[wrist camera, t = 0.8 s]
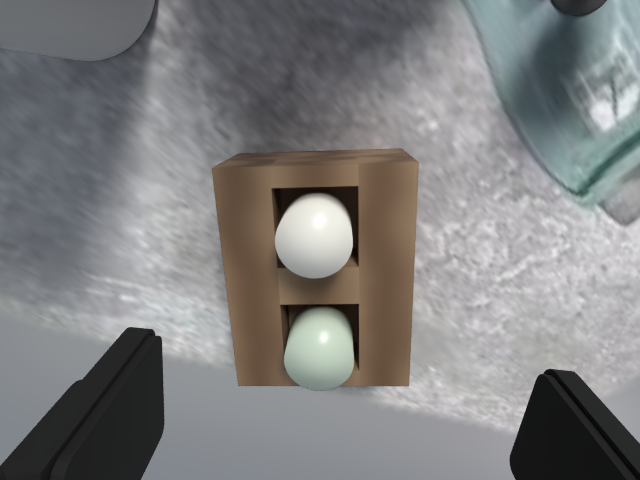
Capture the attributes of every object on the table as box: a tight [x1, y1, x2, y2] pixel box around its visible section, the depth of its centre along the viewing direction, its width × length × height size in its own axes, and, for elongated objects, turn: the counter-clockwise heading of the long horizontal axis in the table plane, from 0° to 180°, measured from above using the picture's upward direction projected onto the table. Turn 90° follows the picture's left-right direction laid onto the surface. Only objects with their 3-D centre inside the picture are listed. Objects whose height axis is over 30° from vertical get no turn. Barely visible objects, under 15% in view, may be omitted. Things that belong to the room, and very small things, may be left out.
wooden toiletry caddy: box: [212, 149, 419, 386], centre depth 34 cm, size 14×18×8 cm
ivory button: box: [275, 191, 353, 278], centre depth 28 cm, size 5×5×4 cm
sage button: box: [284, 304, 354, 391], centre depth 31 cm, size 5×5×4 cm
